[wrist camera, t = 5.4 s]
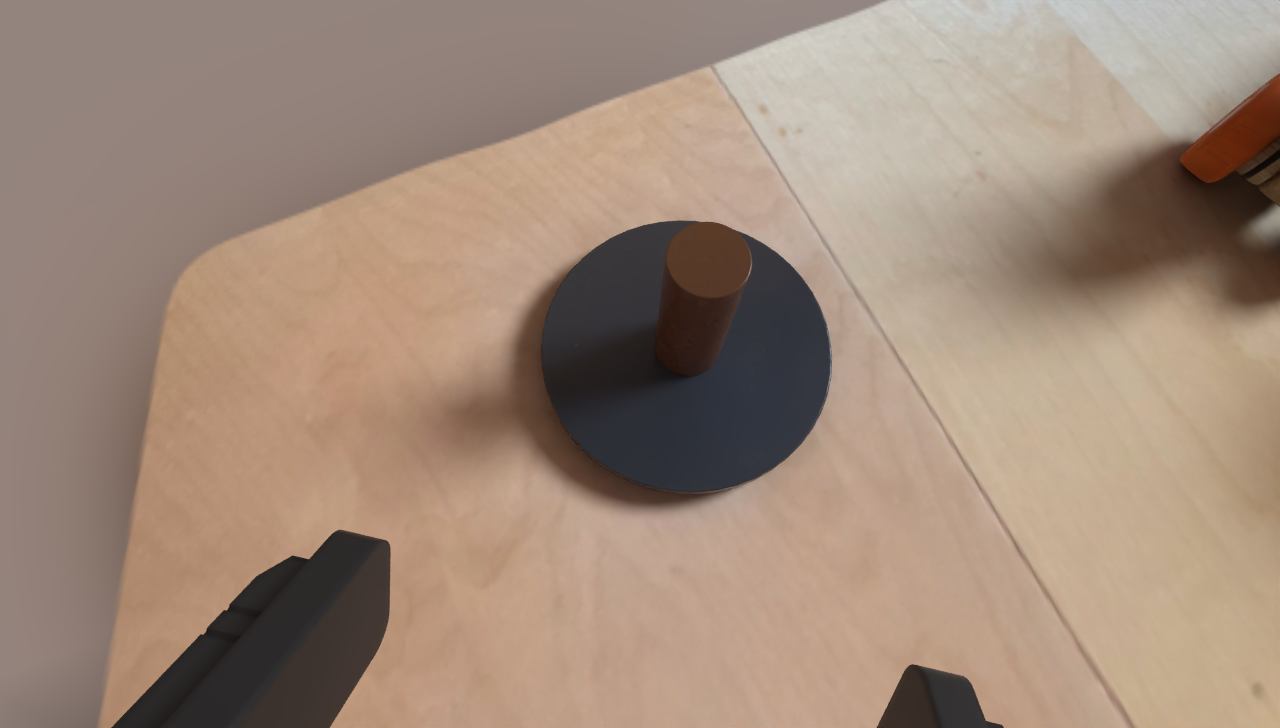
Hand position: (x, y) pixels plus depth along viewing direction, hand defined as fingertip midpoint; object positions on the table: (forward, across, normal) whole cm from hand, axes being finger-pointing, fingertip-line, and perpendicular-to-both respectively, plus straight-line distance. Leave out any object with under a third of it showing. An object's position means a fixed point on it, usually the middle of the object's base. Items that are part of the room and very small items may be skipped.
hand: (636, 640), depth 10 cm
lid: (+17, 0, -2) cm, 18 cm away
